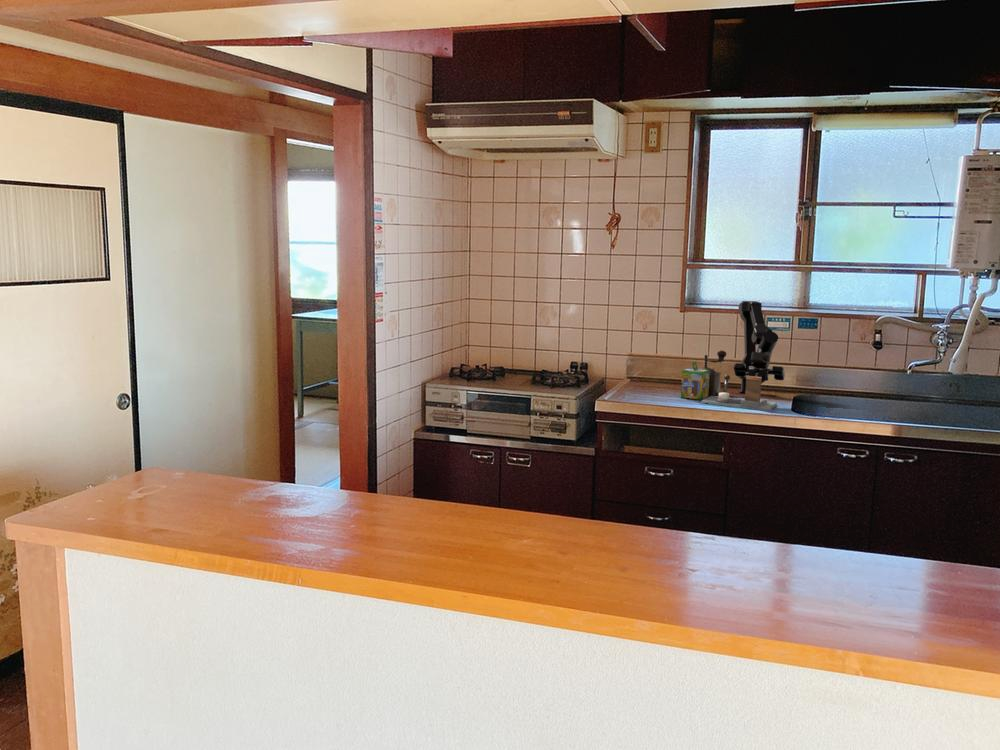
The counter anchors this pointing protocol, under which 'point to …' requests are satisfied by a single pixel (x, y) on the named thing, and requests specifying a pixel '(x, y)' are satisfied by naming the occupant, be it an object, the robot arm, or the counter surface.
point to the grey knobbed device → (714, 374)
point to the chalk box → (695, 383)
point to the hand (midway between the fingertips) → (754, 388)
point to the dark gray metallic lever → (726, 383)
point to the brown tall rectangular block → (753, 388)
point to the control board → (713, 401)
